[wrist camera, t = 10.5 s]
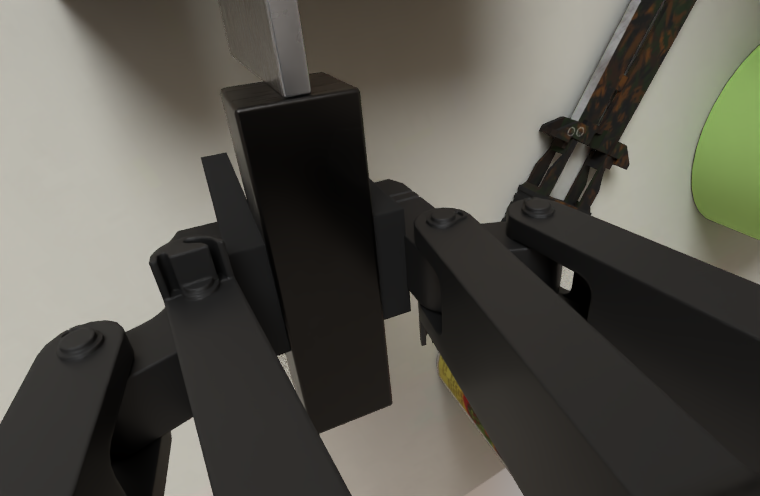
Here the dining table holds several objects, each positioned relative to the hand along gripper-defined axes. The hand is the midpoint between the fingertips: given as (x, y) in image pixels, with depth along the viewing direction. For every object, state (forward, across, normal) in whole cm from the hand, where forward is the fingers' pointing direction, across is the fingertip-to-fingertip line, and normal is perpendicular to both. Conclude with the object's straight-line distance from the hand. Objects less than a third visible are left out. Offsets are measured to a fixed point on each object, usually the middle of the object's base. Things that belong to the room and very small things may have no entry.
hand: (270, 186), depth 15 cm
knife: (+6, +20, -1) cm, 21 cm away
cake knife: (0, 0, +8) cm, 8 cm away
